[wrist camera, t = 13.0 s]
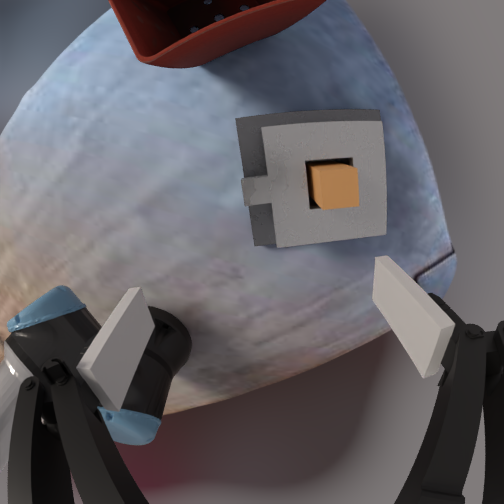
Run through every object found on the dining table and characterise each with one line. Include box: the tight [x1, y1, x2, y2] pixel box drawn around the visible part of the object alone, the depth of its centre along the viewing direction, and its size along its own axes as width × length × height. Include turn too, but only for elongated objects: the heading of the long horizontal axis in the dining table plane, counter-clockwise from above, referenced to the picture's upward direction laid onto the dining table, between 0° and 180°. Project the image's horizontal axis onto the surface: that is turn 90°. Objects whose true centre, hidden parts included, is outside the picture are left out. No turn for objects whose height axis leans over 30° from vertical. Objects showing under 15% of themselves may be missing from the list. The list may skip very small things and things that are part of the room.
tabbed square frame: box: [235, 109, 387, 248], centre depth 33 cm, size 18×20×8 cm
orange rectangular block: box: [305, 160, 359, 210], centre depth 31 cm, size 4×4×10 cm
